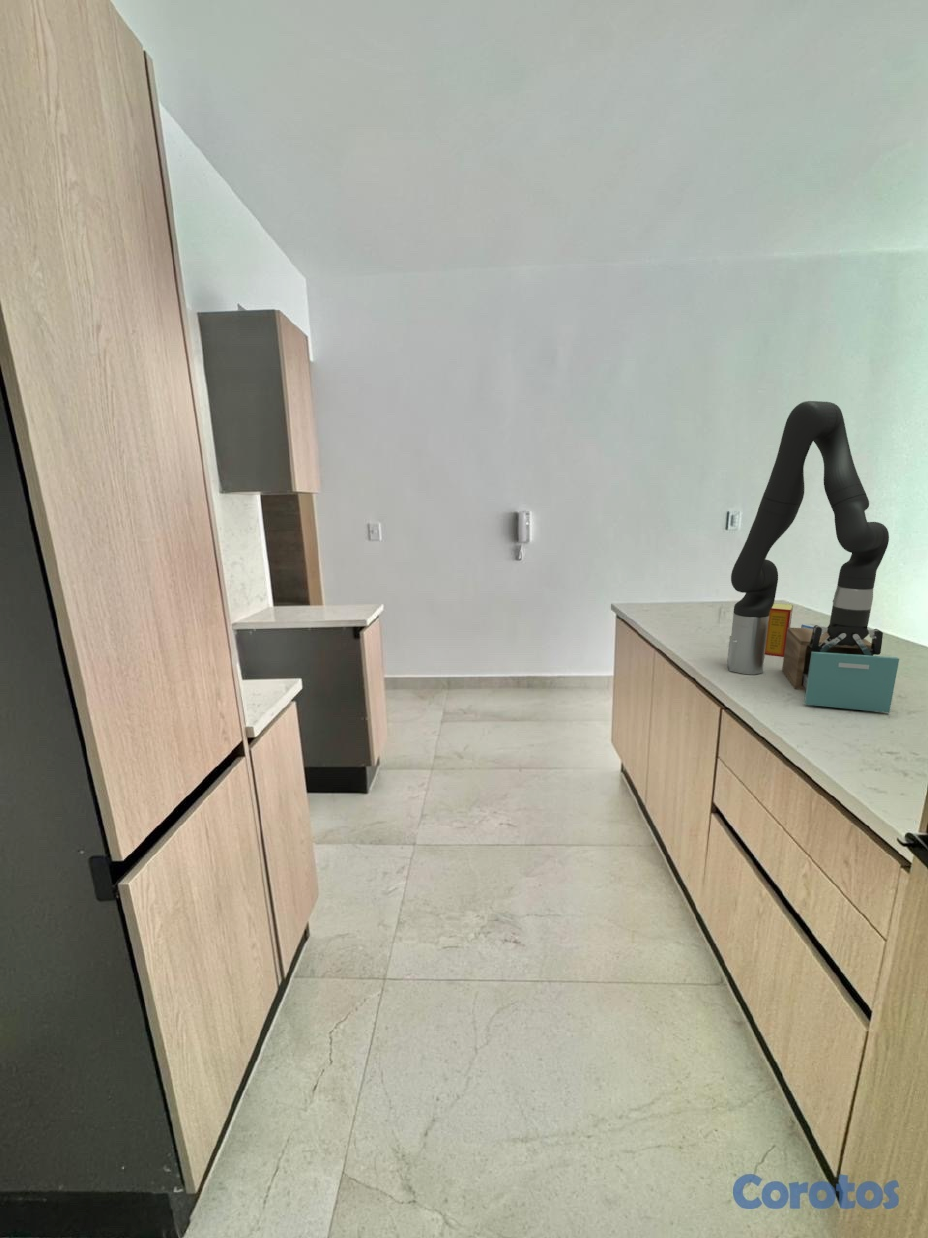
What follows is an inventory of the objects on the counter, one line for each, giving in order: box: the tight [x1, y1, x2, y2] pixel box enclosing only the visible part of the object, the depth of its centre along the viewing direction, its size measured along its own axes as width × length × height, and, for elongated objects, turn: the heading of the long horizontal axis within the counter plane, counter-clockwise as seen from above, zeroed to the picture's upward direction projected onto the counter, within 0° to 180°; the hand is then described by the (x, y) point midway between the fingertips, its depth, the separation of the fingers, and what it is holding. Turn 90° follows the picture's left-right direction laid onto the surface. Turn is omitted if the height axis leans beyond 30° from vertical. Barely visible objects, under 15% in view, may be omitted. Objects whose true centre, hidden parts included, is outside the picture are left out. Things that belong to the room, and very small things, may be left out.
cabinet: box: [781, 627, 874, 691], centre depth 139 cm, size 16×15×14 cm
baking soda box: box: [765, 602, 794, 658], centre depth 166 cm, size 10×6×16 cm
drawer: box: [802, 652, 900, 713], centre depth 127 cm, size 17×15×13 cm
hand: (840, 667), depth 127 cm, fingers open, 8 cm apart
